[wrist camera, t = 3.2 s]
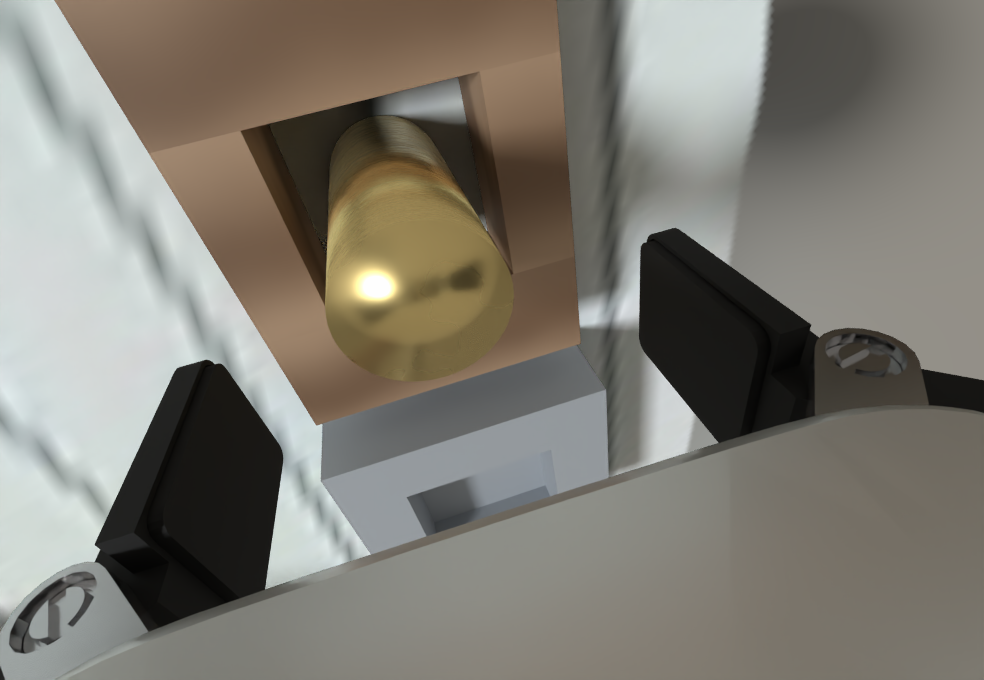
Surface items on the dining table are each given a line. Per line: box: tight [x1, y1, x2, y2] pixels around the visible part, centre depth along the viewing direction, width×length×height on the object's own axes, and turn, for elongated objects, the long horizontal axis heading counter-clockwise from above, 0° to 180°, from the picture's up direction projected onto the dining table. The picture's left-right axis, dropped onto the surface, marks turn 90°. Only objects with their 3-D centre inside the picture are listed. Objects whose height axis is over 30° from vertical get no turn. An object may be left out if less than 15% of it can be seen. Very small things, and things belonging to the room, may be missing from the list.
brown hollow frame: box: [55, 0, 581, 425], centre depth 17 cm, size 16×12×4 cm
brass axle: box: [325, 115, 514, 382], centre depth 15 cm, size 4×4×10 cm
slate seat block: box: [321, 345, 609, 554], centre depth 28 cm, size 13×13×5 cm
